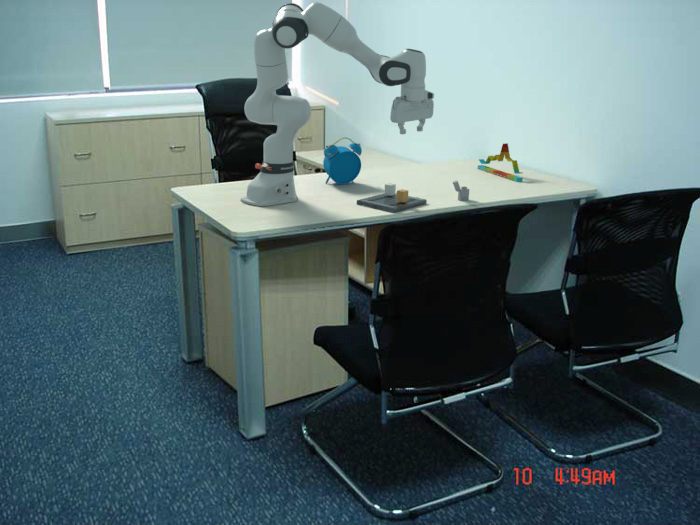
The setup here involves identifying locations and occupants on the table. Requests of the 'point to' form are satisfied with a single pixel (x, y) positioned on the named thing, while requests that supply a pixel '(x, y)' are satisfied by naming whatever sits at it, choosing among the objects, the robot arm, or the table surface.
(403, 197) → the orange wooden block
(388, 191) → the white small block
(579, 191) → the table surface
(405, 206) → the dark grey tray
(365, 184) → the table surface
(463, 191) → the lighter
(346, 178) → the alarm clock
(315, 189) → the table surface
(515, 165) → the chart
